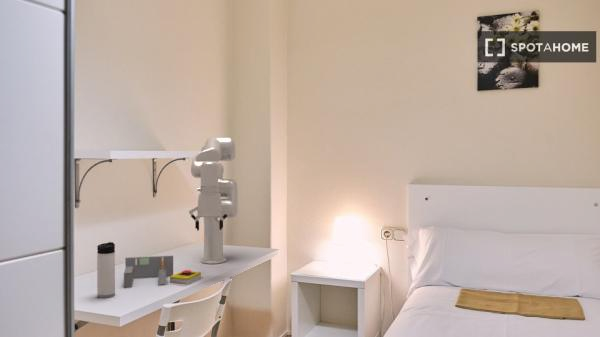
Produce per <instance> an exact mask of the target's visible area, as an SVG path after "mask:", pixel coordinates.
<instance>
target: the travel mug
mask: <svg viewBox="0 0 600 337" xmlns="http://www.w3.org/2000/svg"><path fill="white" fill-rule="evenodd" d="M96 247H97V251H96V253H97V254H96V255H97V256H96V257H97V260H96V261H97V263H96V264H97V271H96V274H97V279H96V280H97V282H96V283H97V287H96V288H97V289H96V290H97V293H96V294H97V298H101V299H106V298H108V299H109V298H112V297H114V296H115V295H116V251H115V250H116V244H115V243H114V242H112V241H109V242H106V243H101V244H98V245H97V246H96Z"/></svg>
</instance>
